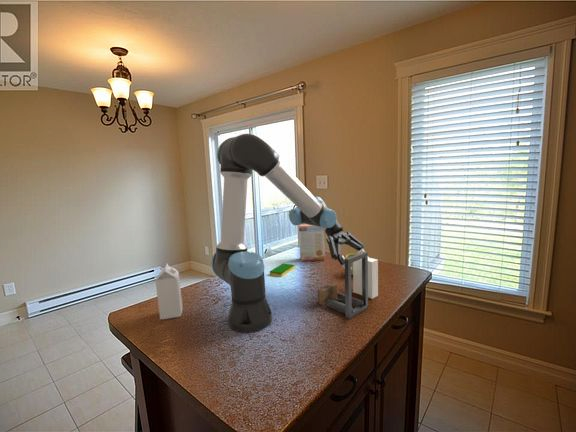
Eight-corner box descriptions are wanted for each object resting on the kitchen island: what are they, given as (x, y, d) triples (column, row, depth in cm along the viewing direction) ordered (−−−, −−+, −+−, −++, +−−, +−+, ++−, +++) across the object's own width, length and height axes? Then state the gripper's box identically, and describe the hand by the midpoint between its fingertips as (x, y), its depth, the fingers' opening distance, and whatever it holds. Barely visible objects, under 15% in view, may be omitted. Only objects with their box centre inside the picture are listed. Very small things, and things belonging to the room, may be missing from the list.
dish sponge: (294, 268, 151) (294, 264, 150) (281, 277, 139) (281, 273, 138) (283, 267, 154) (283, 263, 154) (269, 275, 142) (269, 271, 142)
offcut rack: (349, 319, 96) (348, 259, 93) (323, 308, 104) (321, 253, 101) (368, 307, 103) (367, 252, 100) (342, 298, 112) (341, 247, 109)
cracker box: (324, 257, 166) (323, 223, 163) (324, 260, 160) (323, 224, 157) (300, 258, 168) (299, 223, 165) (300, 261, 162) (298, 225, 159)
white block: (372, 298, 110) (372, 262, 108) (353, 292, 117) (352, 257, 115) (378, 295, 113) (377, 259, 110) (359, 289, 119) (358, 255, 117)
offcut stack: (323, 305, 107) (323, 290, 106) (318, 303, 109) (317, 288, 108) (337, 298, 112) (336, 284, 111) (331, 296, 114) (330, 282, 113)
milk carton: (160, 320, 101) (153, 270, 99) (163, 311, 108) (157, 264, 105) (180, 316, 103) (175, 267, 100) (182, 308, 110) (177, 261, 107)
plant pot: (369, 274, 136) (369, 257, 134) (353, 278, 132) (352, 260, 131) (357, 269, 144) (357, 252, 143) (342, 272, 141) (341, 255, 140)
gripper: (344, 227, 135) (371, 264, 126) (307, 236, 119) (335, 279, 110) (353, 217, 130) (382, 255, 121) (316, 225, 114) (346, 269, 105)
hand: (359, 266), depth 116 cm, fingers open, 13 cm apart
